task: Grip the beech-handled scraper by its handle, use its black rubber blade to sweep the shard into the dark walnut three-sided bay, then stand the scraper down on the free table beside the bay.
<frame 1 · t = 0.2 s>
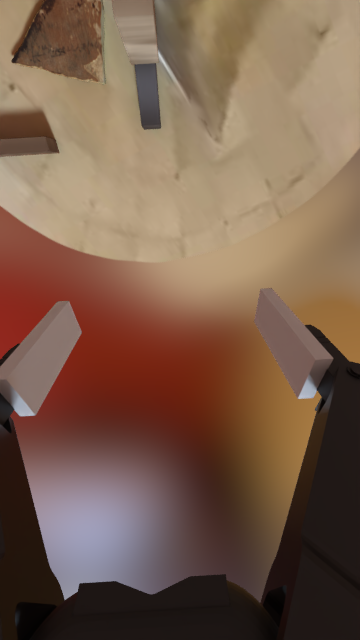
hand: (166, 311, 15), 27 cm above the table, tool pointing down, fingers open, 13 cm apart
scraper: (145, 52, 26), on the table
shard: (74, 59, 26), on the table
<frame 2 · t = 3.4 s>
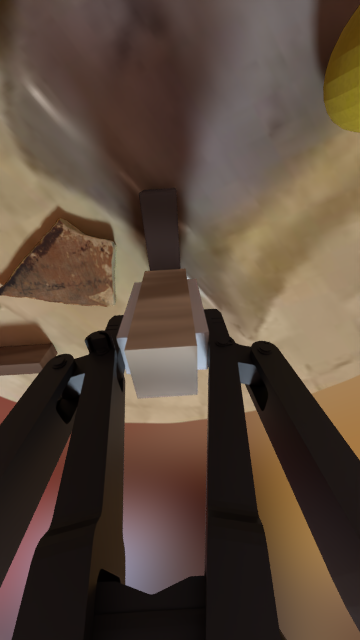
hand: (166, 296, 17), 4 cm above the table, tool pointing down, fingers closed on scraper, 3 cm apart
scraper: (167, 275, 20), on the table, touching gripper
shard: (76, 278, 21), on the table
lemon: (341, 83, 13), on the table
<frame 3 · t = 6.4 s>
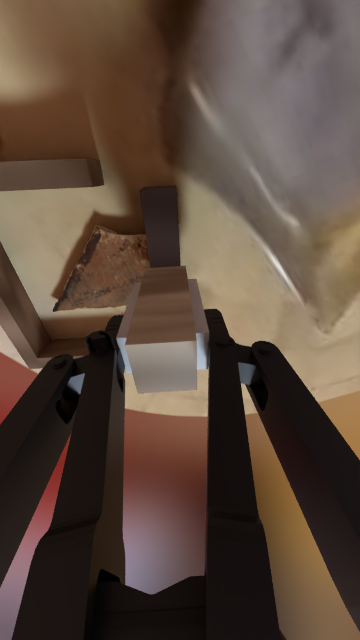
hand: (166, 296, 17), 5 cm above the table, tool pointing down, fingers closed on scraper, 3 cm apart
scraper: (167, 272, 20), on the table, touching shard, gripper
shard: (118, 281, 21), on the table, touching scraper
walnut bay: (61, 279, 20), on the table
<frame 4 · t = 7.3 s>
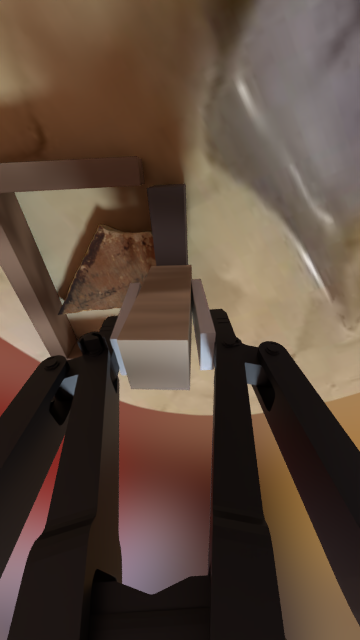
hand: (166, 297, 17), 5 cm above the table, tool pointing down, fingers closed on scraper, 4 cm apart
scraper: (175, 271, 20), on the table, tilted 7°, touching shard, gripper
shard: (122, 281, 21), on the table, touching scraper, walnut bay
walnut bay: (93, 278, 20), on the table
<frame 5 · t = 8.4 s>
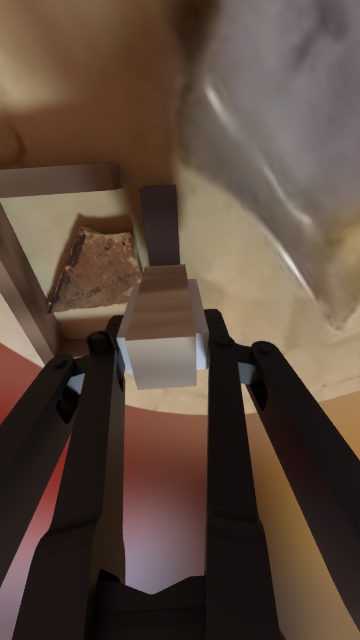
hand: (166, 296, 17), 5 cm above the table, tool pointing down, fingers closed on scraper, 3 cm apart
scraper: (167, 271, 20), point 1 cm above the table, touching gripper
shard: (108, 281, 22), on the table
walnut bay: (78, 280, 21), on the table
when the fingers open (6 cm above the table, at t = 12.2 s): scraper drops 1 cm, on the table.
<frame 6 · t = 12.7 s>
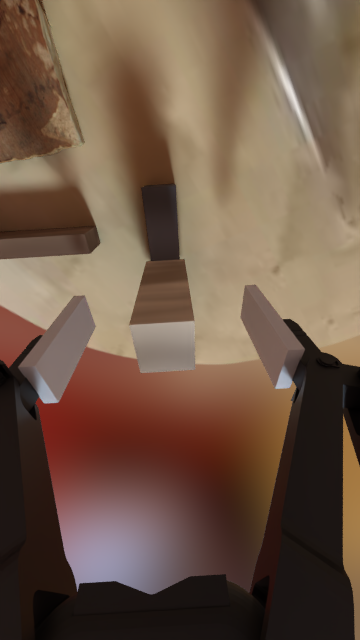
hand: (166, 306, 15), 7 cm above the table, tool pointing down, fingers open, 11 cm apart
scraper: (167, 267, 21), on the table
shard: (26, 125, 15), on the table
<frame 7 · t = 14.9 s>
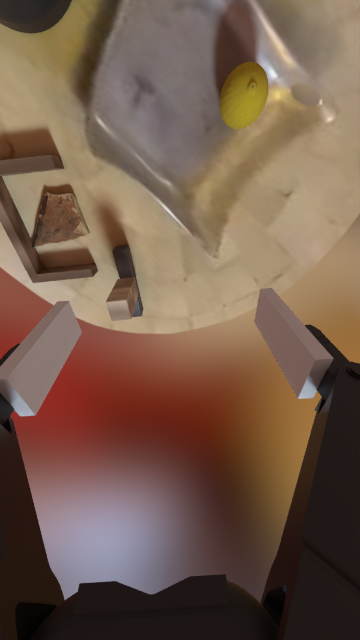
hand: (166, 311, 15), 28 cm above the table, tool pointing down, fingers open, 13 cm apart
scraper: (130, 280, 43), on the table
shard: (66, 226, 38), on the table
walnut bay: (47, 225, 37), on the table
lemon: (234, 108, 29), on the table
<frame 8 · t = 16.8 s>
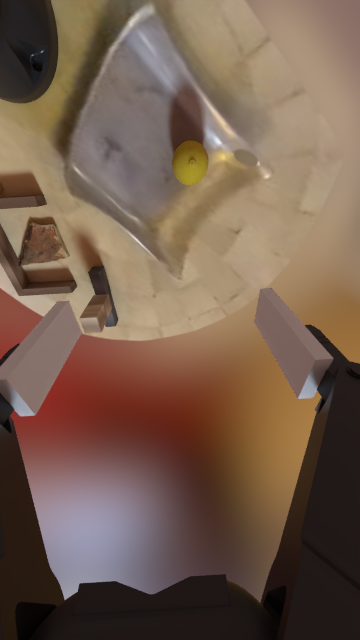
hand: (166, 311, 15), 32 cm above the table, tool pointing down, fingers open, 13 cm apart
scraper: (106, 295, 49), on the table
shard: (49, 249, 43), on the table
walnut bay: (32, 248, 42), on the table
lemon: (188, 164, 36), on the table
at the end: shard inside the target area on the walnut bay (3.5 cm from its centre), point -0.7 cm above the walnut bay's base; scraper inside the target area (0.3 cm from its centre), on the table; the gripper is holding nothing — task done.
